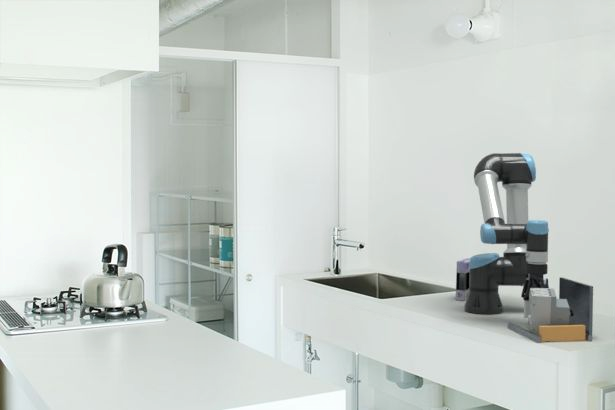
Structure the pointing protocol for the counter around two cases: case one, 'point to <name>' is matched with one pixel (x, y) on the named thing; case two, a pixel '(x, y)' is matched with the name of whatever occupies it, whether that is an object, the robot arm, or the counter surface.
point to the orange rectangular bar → (562, 333)
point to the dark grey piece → (577, 300)
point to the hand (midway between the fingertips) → (535, 321)
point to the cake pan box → (462, 279)
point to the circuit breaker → (547, 309)
